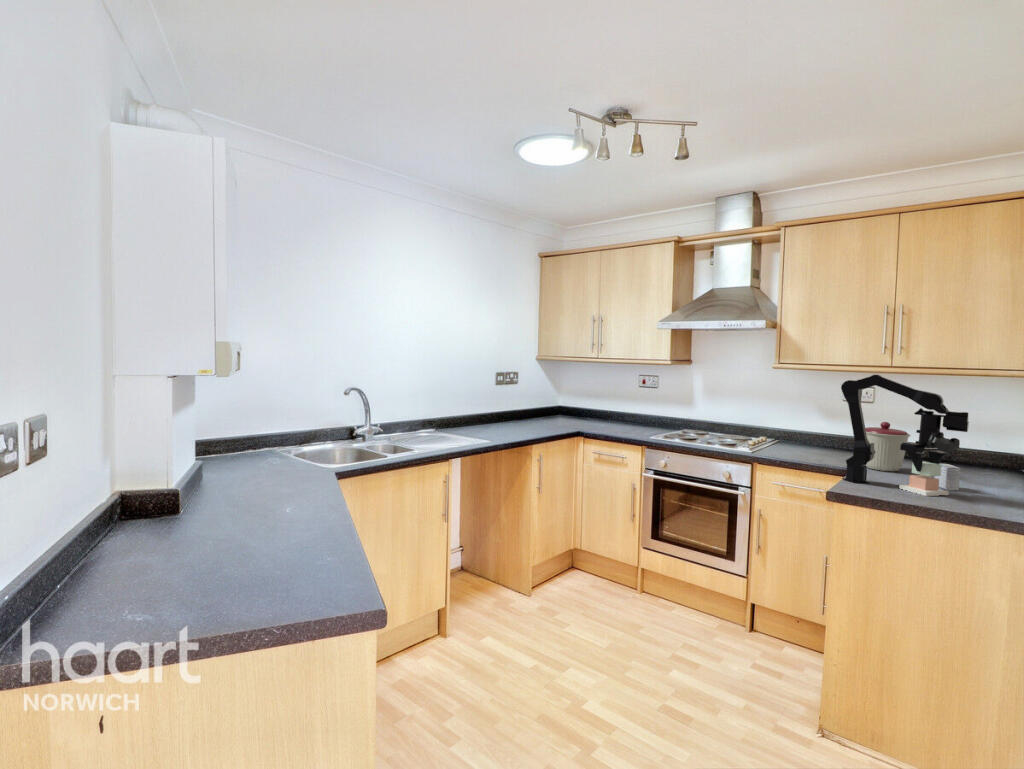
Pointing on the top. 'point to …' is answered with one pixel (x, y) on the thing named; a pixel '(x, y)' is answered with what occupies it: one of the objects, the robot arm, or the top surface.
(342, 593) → the top surface
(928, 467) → the pale green block
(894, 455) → the canister
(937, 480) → the bottom brick
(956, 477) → the medicine box
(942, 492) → the base plate
